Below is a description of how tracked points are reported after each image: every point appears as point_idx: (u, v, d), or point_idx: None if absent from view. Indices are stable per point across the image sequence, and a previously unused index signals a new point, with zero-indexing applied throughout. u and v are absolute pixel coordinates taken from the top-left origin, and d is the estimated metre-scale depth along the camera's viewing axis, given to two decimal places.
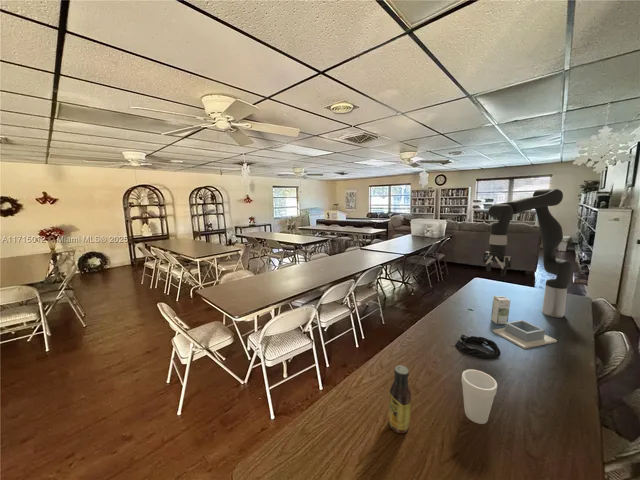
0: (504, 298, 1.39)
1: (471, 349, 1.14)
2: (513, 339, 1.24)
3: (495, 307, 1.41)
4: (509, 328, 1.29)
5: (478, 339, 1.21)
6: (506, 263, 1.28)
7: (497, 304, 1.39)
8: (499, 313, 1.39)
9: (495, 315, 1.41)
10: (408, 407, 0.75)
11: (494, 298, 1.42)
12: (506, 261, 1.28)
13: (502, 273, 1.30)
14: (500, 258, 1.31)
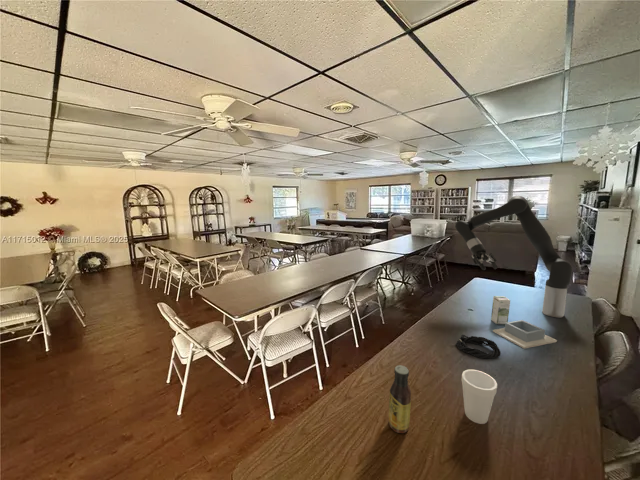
0: (504, 298, 1.39)
1: (471, 349, 1.14)
2: (513, 339, 1.24)
3: (495, 307, 1.41)
4: (509, 328, 1.29)
5: (478, 339, 1.21)
6: None
7: (497, 304, 1.39)
8: (499, 313, 1.39)
9: (495, 315, 1.41)
10: (408, 407, 0.75)
11: (494, 298, 1.42)
12: None
13: None
14: None
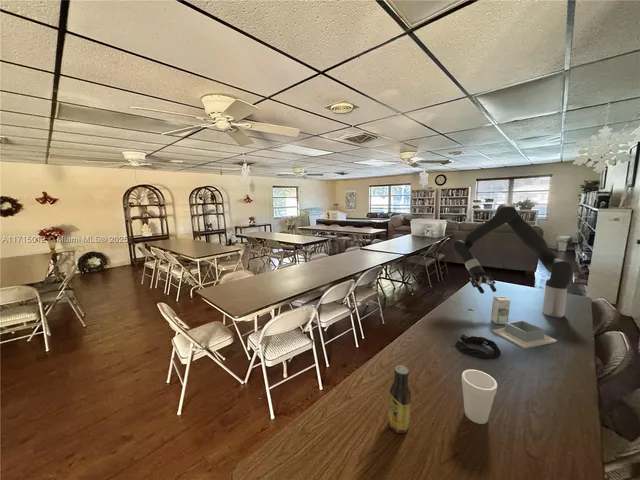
0: (504, 298, 1.39)
1: (471, 349, 1.14)
2: (513, 339, 1.24)
3: (495, 307, 1.41)
4: (509, 328, 1.29)
5: (478, 339, 1.21)
6: None
7: (497, 304, 1.39)
8: (499, 313, 1.39)
9: (495, 315, 1.41)
10: (408, 407, 0.75)
11: (494, 298, 1.42)
12: None
13: None
14: None
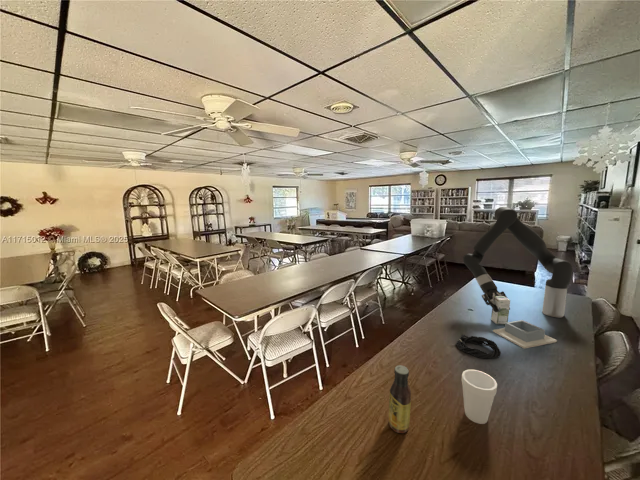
0: (504, 298, 1.39)
1: (471, 349, 1.14)
2: (513, 339, 1.24)
3: None
4: (509, 328, 1.29)
5: (478, 339, 1.21)
6: None
7: (497, 304, 1.39)
8: (499, 313, 1.39)
9: (495, 315, 1.41)
10: (408, 407, 0.75)
11: None
12: None
13: None
14: None
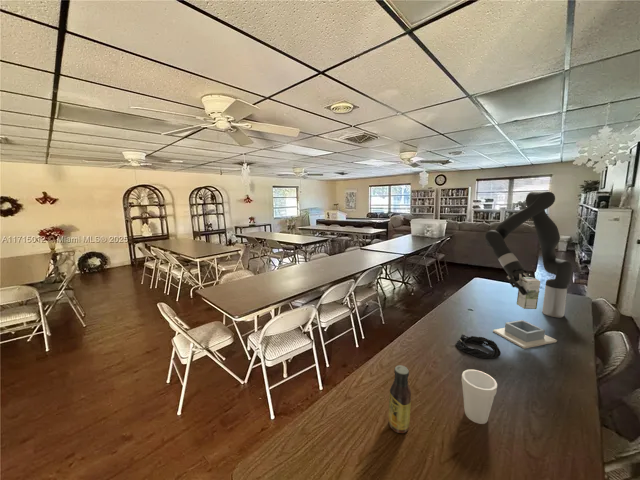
0: (533, 279, 1.22)
1: (471, 349, 1.14)
2: (513, 339, 1.24)
3: None
4: (509, 328, 1.29)
5: (478, 339, 1.21)
6: None
7: (525, 286, 1.22)
8: (527, 296, 1.22)
9: (523, 298, 1.24)
10: (408, 407, 0.75)
11: None
12: None
13: None
14: None
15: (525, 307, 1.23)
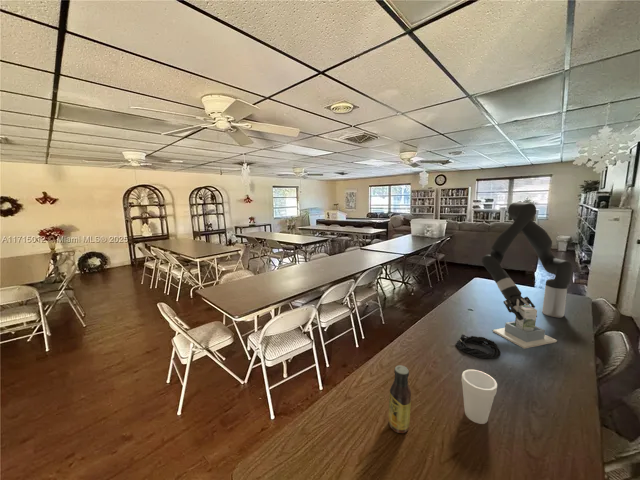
0: (530, 308, 1.25)
1: (471, 349, 1.14)
2: (513, 339, 1.24)
3: None
4: (509, 328, 1.29)
5: (478, 339, 1.21)
6: None
7: (522, 314, 1.25)
8: (524, 325, 1.24)
9: (520, 326, 1.26)
10: (408, 407, 0.75)
11: None
12: None
13: None
14: None
15: None
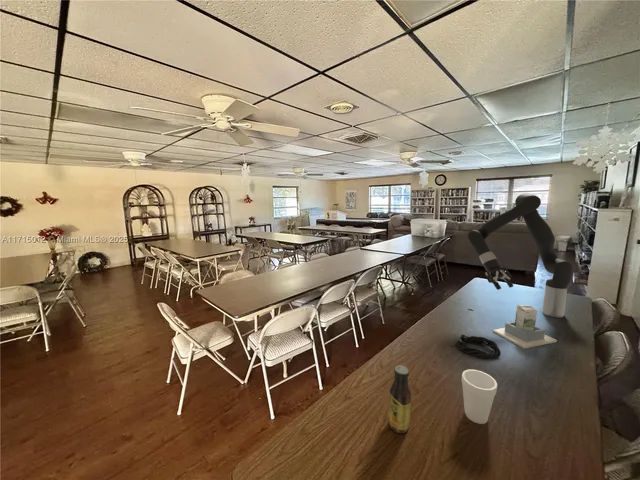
0: (530, 308, 1.25)
1: (471, 349, 1.14)
2: (513, 339, 1.24)
3: (519, 318, 1.27)
4: (509, 328, 1.29)
5: (478, 339, 1.21)
6: None
7: (522, 314, 1.25)
8: (524, 325, 1.24)
9: (520, 326, 1.26)
10: (408, 407, 0.75)
11: (518, 307, 1.27)
12: None
13: None
14: None
15: None
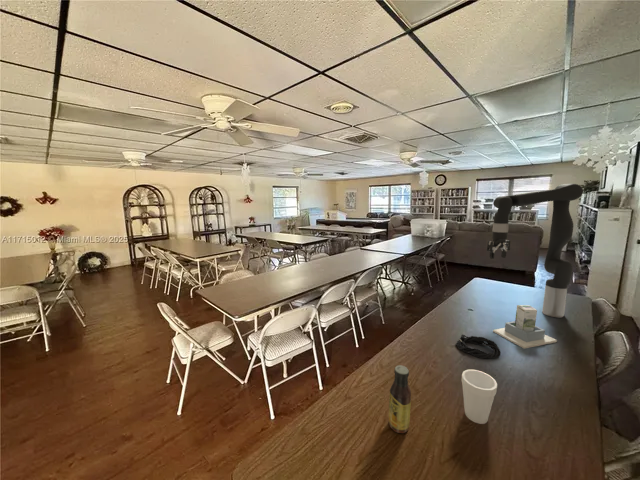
0: (530, 308, 1.25)
1: (471, 349, 1.14)
2: (513, 339, 1.24)
3: (519, 318, 1.27)
4: (509, 328, 1.29)
5: (478, 339, 1.21)
6: None
7: (522, 314, 1.25)
8: (524, 325, 1.24)
9: (520, 326, 1.26)
10: (408, 407, 0.75)
11: (518, 307, 1.27)
12: None
13: None
14: None
15: None
